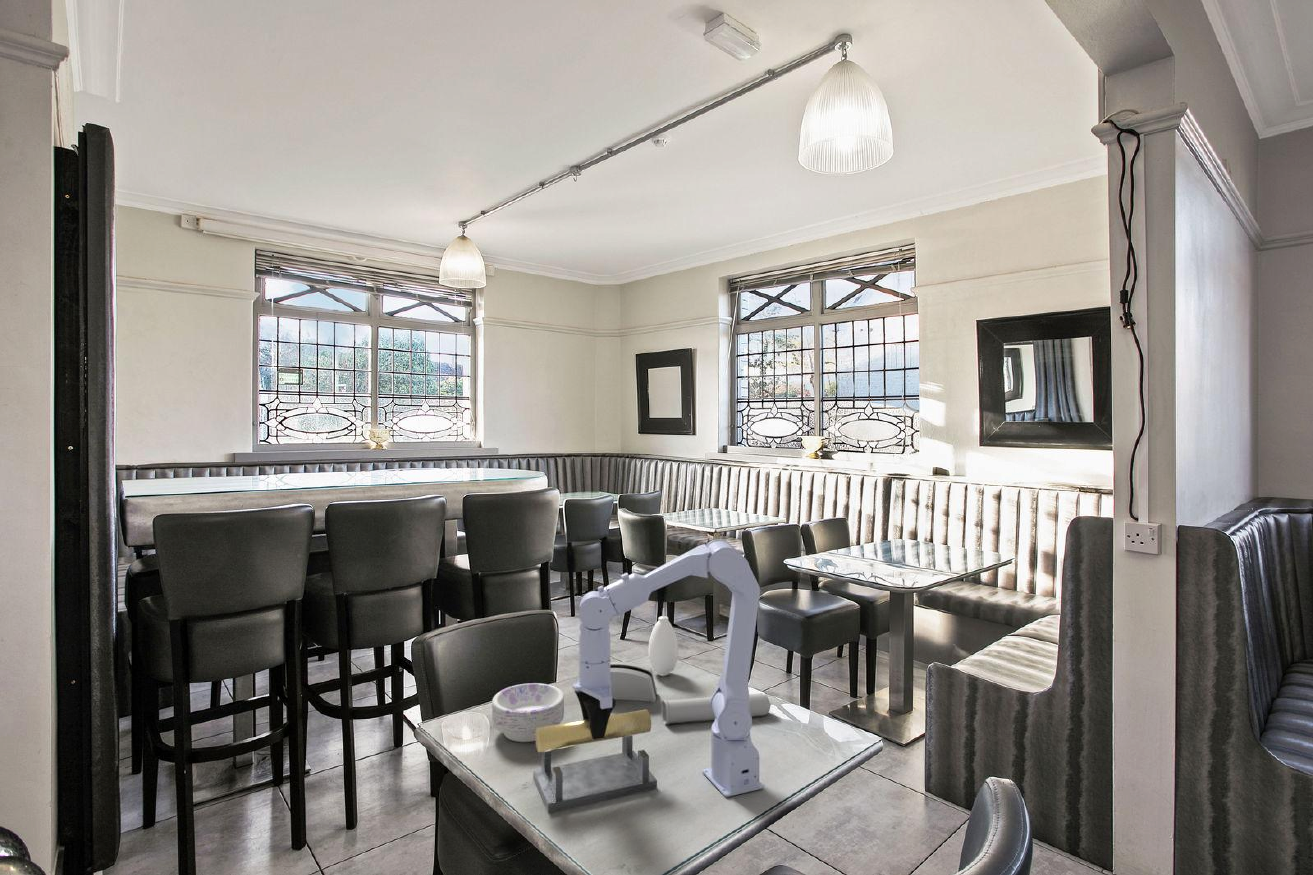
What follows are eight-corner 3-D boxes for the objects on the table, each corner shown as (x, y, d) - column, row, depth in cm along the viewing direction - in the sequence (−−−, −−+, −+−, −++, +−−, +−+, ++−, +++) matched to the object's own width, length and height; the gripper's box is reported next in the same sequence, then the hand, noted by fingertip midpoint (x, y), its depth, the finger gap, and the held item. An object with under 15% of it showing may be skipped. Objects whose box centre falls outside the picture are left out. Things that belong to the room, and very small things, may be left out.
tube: (764, 691, 156) (660, 699, 151) (772, 692, 151) (666, 700, 146) (766, 715, 154) (662, 724, 149) (775, 717, 149) (667, 726, 144)
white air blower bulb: (644, 671, 178) (644, 604, 178) (671, 668, 181) (671, 602, 181) (654, 681, 171) (654, 612, 171) (682, 678, 174) (682, 609, 174)
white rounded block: (658, 693, 164) (656, 660, 160) (655, 707, 159) (653, 673, 156) (592, 689, 166) (589, 656, 163) (588, 702, 162) (584, 669, 158)
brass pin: (643, 726, 128) (643, 706, 128) (651, 735, 124) (651, 714, 124) (535, 746, 120) (535, 724, 120) (540, 756, 116) (540, 733, 116)
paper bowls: (509, 757, 132) (509, 717, 132) (481, 729, 144) (481, 692, 144) (577, 736, 141) (577, 699, 141) (544, 711, 153) (544, 677, 153)
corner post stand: (657, 788, 120) (657, 755, 120) (548, 812, 113) (548, 777, 112) (633, 758, 131) (633, 728, 131) (533, 778, 124) (533, 746, 124)
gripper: (563, 649, 127) (563, 719, 127) (584, 675, 113) (584, 754, 114) (598, 644, 130) (598, 714, 130) (623, 669, 116) (623, 746, 116)
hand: (594, 732), depth 122 cm, fingers closed on brass pin, 4 cm apart
